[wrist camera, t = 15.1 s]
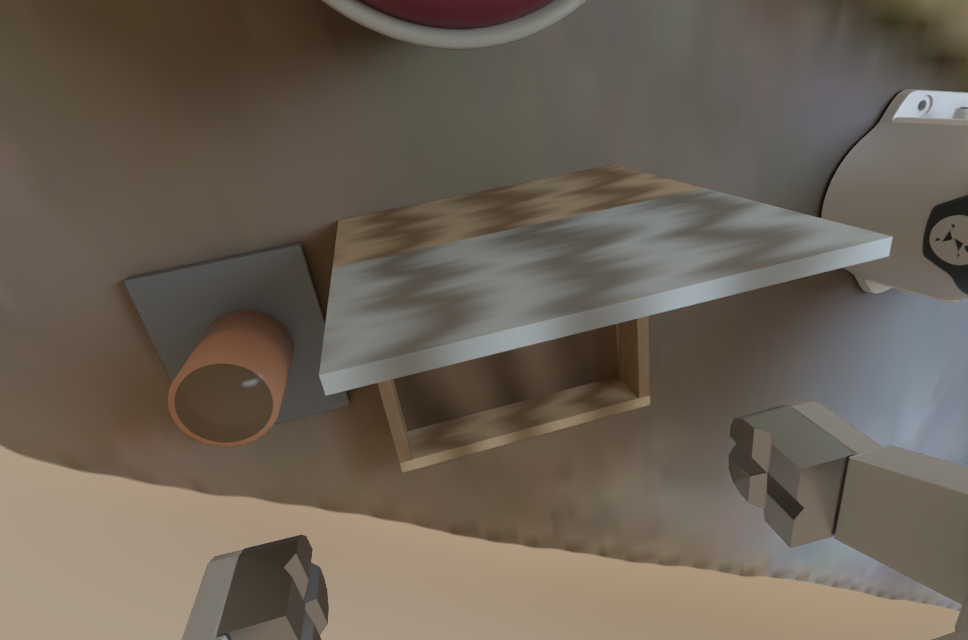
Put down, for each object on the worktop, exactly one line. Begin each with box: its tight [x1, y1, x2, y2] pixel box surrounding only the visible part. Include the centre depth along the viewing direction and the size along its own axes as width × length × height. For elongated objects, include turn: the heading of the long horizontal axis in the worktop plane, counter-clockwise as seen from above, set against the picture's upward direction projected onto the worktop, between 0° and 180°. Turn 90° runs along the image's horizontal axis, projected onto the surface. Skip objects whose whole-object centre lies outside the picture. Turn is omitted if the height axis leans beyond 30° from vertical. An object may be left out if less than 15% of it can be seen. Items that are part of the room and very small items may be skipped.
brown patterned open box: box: [319, 165, 893, 473], centre depth 34 cm, size 22×20×24 cm
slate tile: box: [124, 242, 350, 443], centre depth 40 cm, size 12×14×1 cm
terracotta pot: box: [168, 310, 294, 447], centre depth 36 cm, size 6×6×8 cm
